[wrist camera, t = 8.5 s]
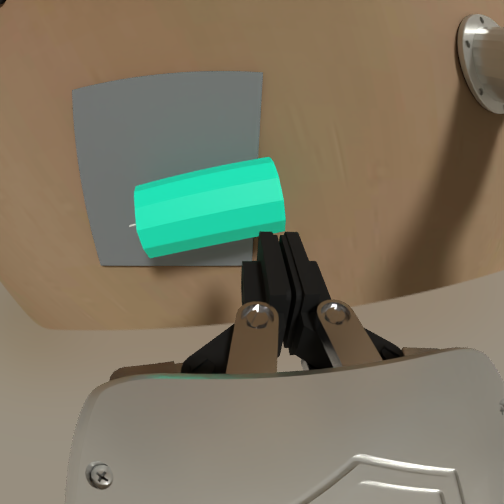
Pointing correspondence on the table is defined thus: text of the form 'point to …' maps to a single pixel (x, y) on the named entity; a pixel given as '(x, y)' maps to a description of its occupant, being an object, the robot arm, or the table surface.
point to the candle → (209, 207)
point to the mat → (160, 151)
